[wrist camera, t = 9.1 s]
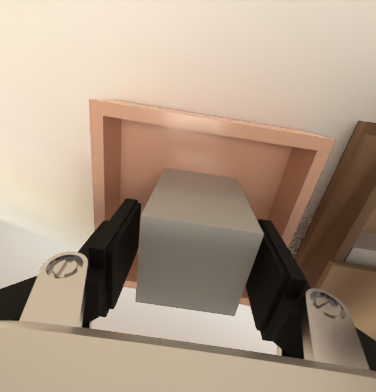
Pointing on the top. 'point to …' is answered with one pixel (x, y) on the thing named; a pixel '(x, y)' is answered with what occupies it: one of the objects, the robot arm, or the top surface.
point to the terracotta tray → (201, 161)
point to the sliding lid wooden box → (346, 231)
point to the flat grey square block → (363, 251)
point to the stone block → (196, 243)
